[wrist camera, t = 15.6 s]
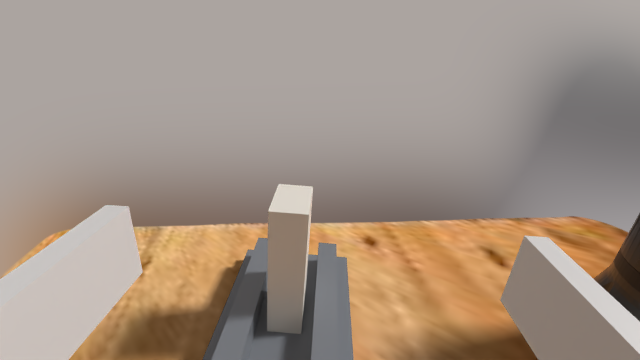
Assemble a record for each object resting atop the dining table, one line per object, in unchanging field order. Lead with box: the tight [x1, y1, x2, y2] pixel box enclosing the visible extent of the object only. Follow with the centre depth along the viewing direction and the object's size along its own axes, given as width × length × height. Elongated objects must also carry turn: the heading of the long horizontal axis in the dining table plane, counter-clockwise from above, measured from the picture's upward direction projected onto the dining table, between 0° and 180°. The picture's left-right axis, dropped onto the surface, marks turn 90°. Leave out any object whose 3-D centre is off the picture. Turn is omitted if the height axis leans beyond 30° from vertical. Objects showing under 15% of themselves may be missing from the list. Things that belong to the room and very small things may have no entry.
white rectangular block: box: [267, 184, 313, 334], centre depth 28 cm, size 3×5×12 cm, turn 178°
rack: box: [203, 238, 353, 360], centre depth 30 cm, size 12×18×4 cm, turn 178°
